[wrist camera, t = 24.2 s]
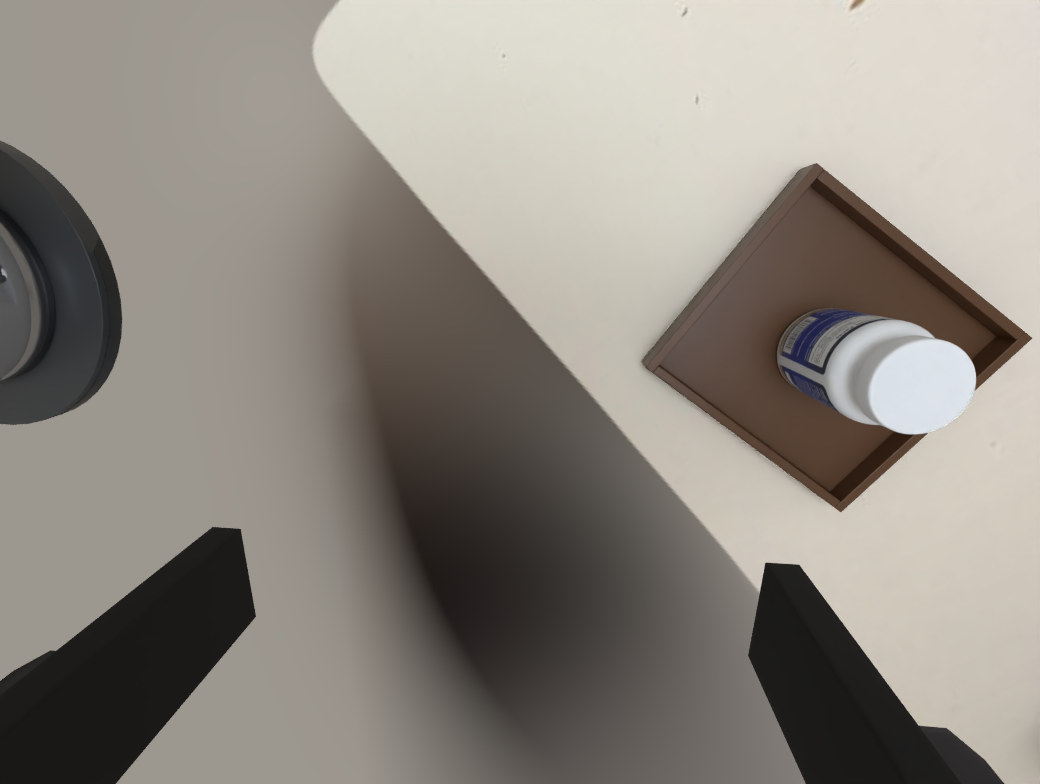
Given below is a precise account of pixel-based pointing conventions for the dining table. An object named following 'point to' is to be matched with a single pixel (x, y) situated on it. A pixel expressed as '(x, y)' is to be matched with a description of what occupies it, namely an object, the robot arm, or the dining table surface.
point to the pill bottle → (877, 369)
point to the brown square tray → (804, 288)
